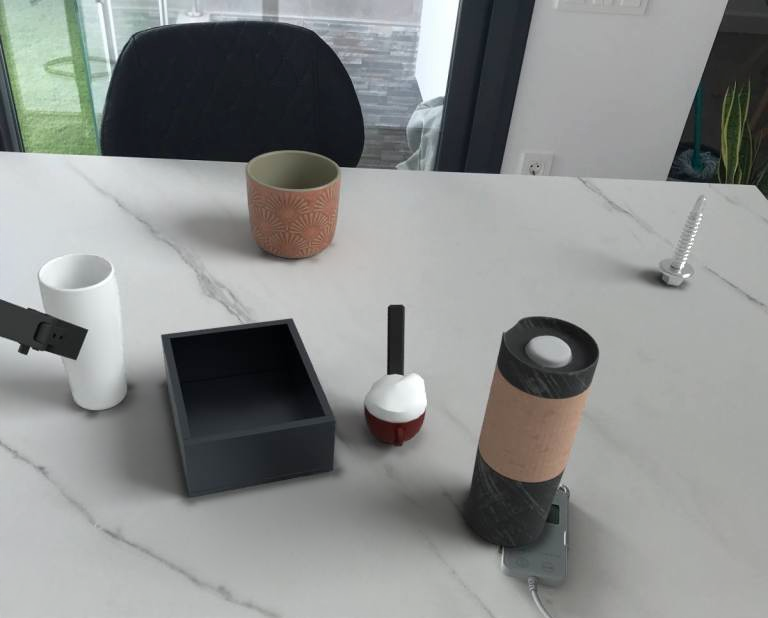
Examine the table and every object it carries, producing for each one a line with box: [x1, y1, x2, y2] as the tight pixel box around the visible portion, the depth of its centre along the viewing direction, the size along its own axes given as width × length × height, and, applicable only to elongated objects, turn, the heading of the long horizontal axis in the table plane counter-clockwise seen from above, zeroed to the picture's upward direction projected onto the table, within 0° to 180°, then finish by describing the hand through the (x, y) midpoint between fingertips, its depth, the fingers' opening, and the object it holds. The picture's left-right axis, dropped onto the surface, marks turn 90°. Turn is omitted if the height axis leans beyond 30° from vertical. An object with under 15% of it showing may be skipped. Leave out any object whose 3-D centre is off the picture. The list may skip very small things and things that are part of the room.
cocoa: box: [363, 304, 428, 447], centre depth 76 cm, size 10×6×12 cm, turn 163°
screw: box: [657, 194, 707, 287], centre depth 104 cm, size 13×5×5 cm
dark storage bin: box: [160, 317, 337, 498], centre depth 76 cm, size 17×14×7 cm
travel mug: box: [466, 315, 600, 548], centre depth 65 cm, size 8×8×20 cm
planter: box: [244, 149, 342, 259], centre depth 104 cm, size 12×12×11 cm
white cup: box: [37, 252, 128, 411], centre depth 75 cm, size 7×7×15 cm
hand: (14, 319), depth 66 cm, fingers open, 13 cm apart
